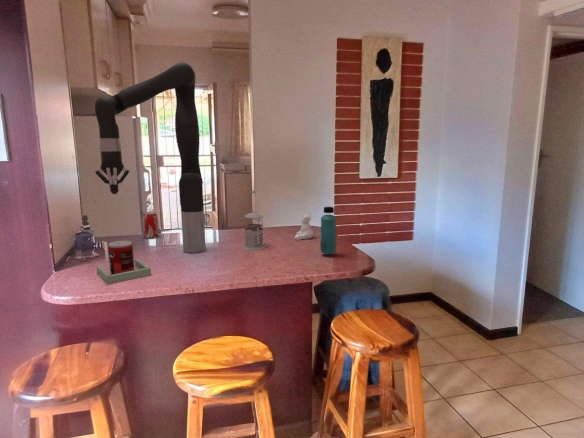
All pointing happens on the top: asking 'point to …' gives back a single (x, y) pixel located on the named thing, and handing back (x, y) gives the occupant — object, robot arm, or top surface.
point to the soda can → (150, 225)
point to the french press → (254, 232)
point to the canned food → (121, 256)
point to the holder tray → (141, 272)
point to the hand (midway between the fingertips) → (114, 193)
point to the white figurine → (304, 229)
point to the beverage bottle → (328, 232)
